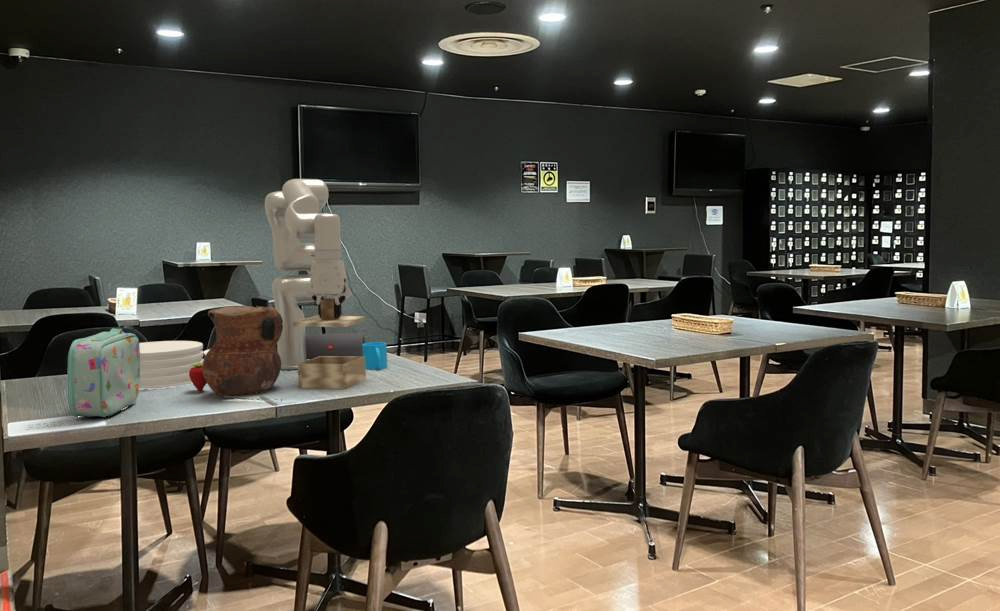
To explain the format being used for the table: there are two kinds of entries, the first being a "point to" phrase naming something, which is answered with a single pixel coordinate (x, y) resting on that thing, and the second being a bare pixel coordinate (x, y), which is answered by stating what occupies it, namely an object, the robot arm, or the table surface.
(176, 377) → the plate stack
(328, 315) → the lid
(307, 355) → the bluetooth speaker
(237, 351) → the jug
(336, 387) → the storage box
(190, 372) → the strawberry
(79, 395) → the lunch box
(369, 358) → the mug
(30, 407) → the table surface
